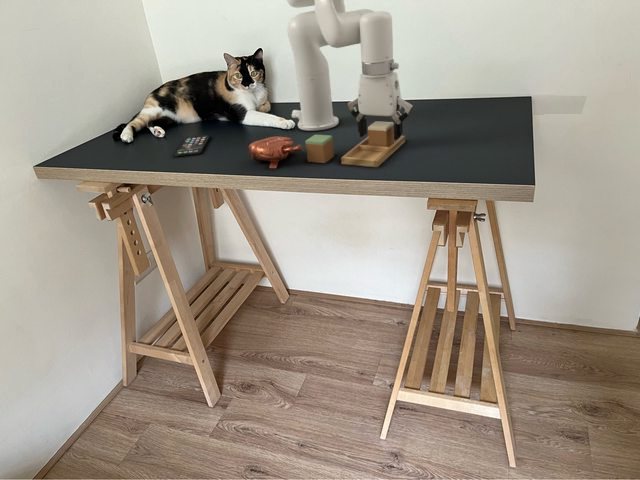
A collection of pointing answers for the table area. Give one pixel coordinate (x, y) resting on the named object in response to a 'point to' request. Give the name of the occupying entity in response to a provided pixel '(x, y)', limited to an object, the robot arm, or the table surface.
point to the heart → (273, 149)
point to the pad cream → (381, 134)
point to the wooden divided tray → (370, 153)
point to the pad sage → (319, 148)
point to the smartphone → (192, 145)
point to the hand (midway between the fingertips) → (380, 136)
